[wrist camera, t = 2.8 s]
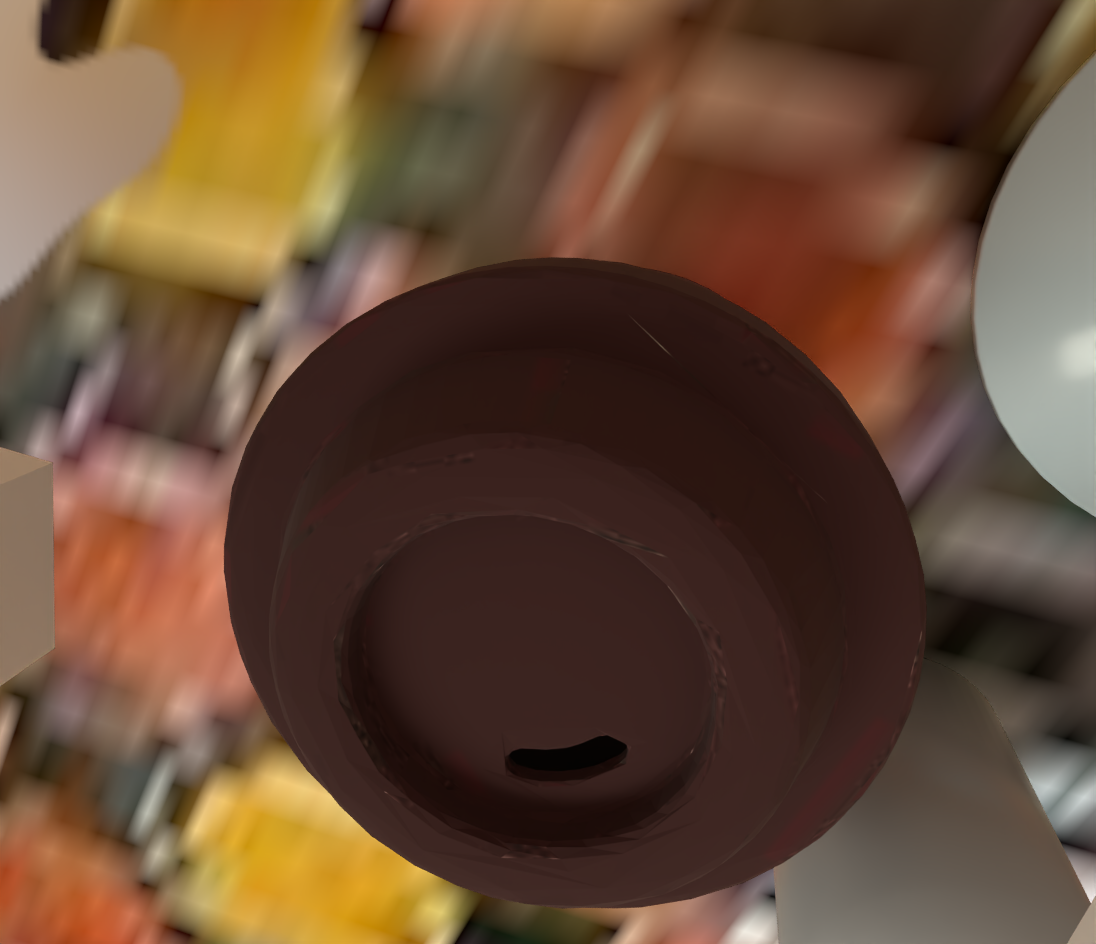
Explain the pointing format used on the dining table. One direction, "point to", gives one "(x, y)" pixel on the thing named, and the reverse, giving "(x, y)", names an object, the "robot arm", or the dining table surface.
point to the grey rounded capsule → (937, 843)
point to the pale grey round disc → (1045, 293)
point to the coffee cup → (575, 584)
